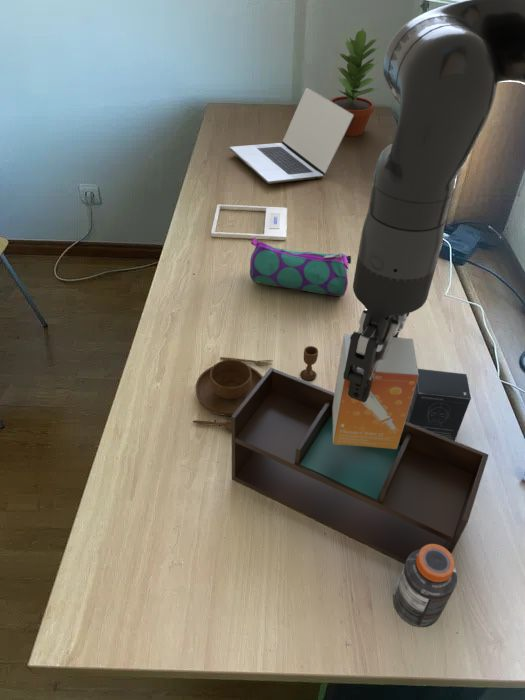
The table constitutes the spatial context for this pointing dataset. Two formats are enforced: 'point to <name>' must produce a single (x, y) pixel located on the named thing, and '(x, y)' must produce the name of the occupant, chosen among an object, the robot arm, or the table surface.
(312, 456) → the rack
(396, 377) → the small box
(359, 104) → the potted plant
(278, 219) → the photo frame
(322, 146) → the laptop
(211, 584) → the table surface
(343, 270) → the pencil case
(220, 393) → the place setting
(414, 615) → the pill bottle
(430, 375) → the box
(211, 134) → the table surface
